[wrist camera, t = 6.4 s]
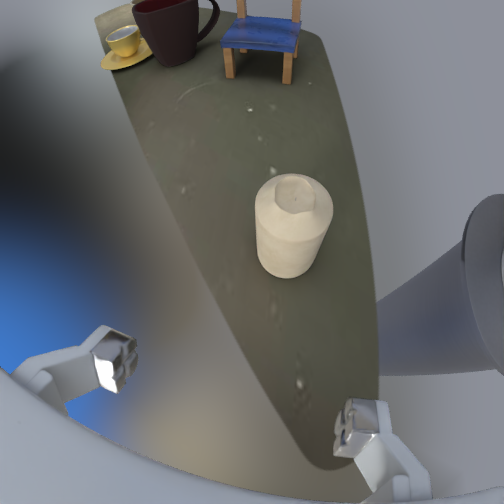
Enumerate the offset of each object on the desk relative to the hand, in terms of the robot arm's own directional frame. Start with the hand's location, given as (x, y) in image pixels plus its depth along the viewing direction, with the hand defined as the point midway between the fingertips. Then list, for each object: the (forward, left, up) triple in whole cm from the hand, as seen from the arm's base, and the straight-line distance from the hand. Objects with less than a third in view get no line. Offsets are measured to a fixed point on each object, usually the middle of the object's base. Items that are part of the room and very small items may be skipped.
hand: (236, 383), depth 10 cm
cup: (+47, -32, -15) cm, 59 cm away
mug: (+36, -35, -15) cm, 52 cm away
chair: (+21, -37, -15) cm, 46 cm away
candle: (+3, -11, -16) cm, 20 cm away
